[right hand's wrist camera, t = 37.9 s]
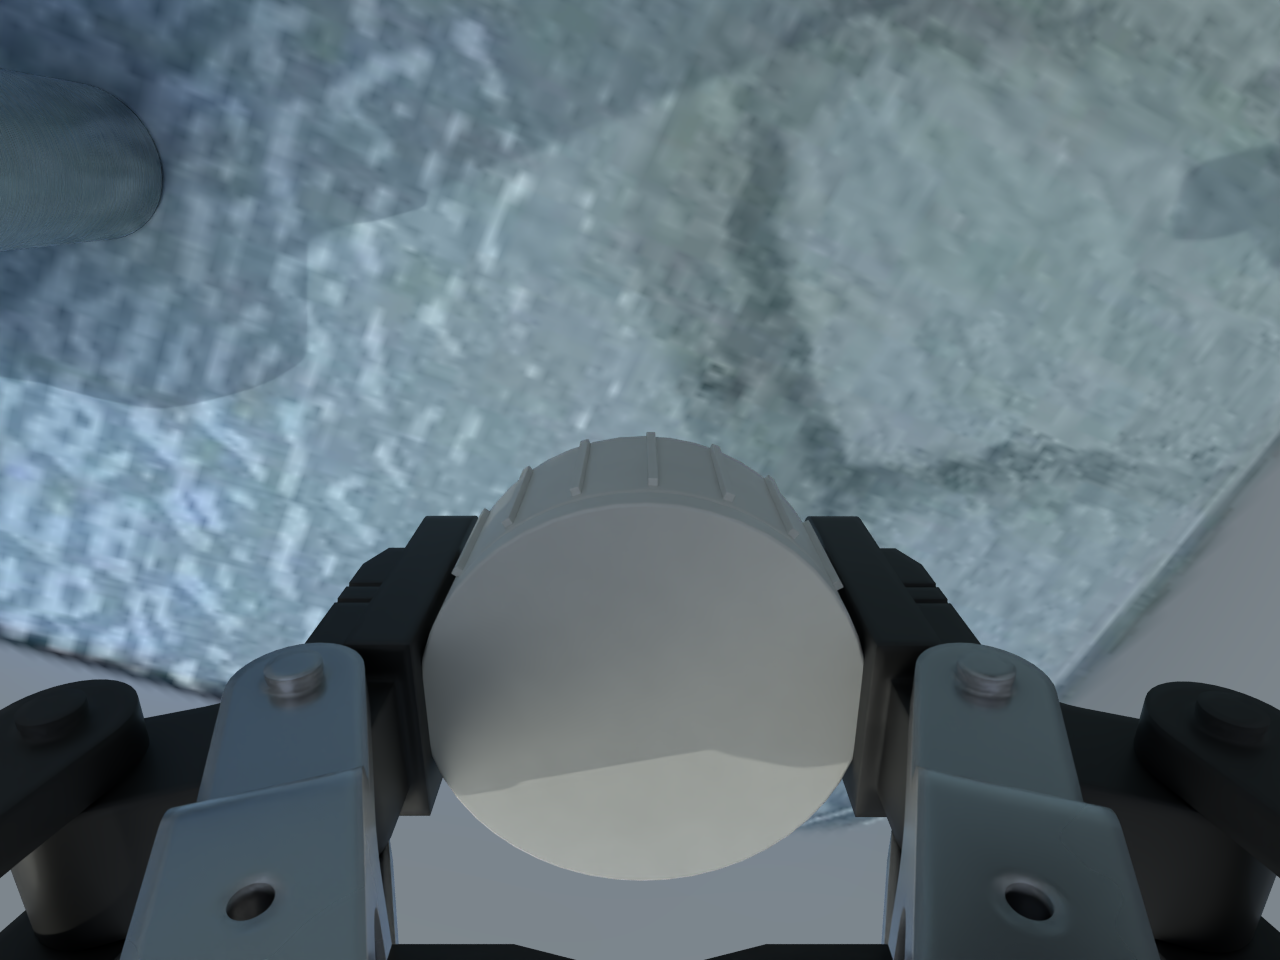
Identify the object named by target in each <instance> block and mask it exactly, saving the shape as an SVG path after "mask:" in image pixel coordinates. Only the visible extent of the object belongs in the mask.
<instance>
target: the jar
mask: <svg viewBox="0 0 1280 960" xmlns="http://www.w3.org/2000/svg"><path fill="white" fill-rule="evenodd" d="M161 190H162V168H161V163H160V158H159V155H158V152H157V149H156V147H155V144H154V142H153V140H152V138H151V136H150V134H149V133H148V131H147V129H146V128H145V126H144V125H143V124H142V122H141V121H140V120H139V119H138V117H137V116H136V115H135V114H134V113H133V112H132V111H131V110H130V109H129V108H128V107H127V106H126V105H125V104H123V103H122V102H121V101H119V100H118V99H117V98H115V97H114V96H112V95H111V94H109V93H107V92H105V91H103V90H101V89H99V88H96V87H94V86H91V85H87V84H83V83H78V82H72V81H67V80H61V79H56V78H50V77H45V76H39V75H33V74H28V73H22V72H17V71H11V70H6V69H0V251H8V250H18V249H27V248H36V247H45V246H54V245H63V244H72V243H81V242H91V241H100V240H109V239H116V238H121V237H124V236H127V235H129V234H131V233H133V232H135V231H137V230H138V229H139V228H141V227H142V226H143V225H144V224H145V223H146V222H147V221H148V220H149V219H150V217H151V216H152V215H153V213H154V211H155V209H156V207H157V205H158V202H159V199H160V196H161Z"/></svg>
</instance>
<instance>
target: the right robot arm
mask: <svg viewBox="0 0 1280 960" xmlns="http://www.w3.org/2000/svg"><path fill="white" fill-rule="evenodd" d="M477 520H478V517H477V516H426V517H425V518H424V519H423V521H422V522H421V524H420V526H419V527H418V529H417V530H416V532H415V533H414V535H413V536H412V538H411V539H410V541H409V542H408V544H407V546H406V547H405V548H388V549H386V550H385V551H383V552H382V553H380V554H378V555H377V556H375V557H374V558H372V559H370V560H369V561H367V562H365V563H364V564H363V565H362V566H361V567H360V569H359V570H358V572H357V573H356V574H355V576H354V577H353V578H352V580H351V581H350V582H349V587H346V588H345V589H344V591H343V592H342V593H341V595H340V596H339V597H338V602H337V603H334V604H333V606H332V607H331V608H330V610H329V611H328V612H327V614H326V615H325V617H324V618H323V619H322V621H321V622H320V623H319V625H318V626H317V627H316V629H315V630H314V632H313V633H312V634H311V636H310V637H309V638H308V640H307V641H306V642H305V644H299V645H295V646H290V647H286V648H282V649H279V650H276V651H273V652H271V653H268V654H265V655H263V656H261V657H259V658H257V659H255V660H253V661H252V662H250V663H248V664H247V665H245V666H244V667H242V668H241V669H240V670H239V671H237V672H236V673H235V674H234V675H233V676H232V677H231V678H230V680H229V681H228V683H227V684H226V686H225V689H224V691H223V695H222V699H221V703H219V704H215V705H210V706H206V707H201V708H196V709H190V710H185V711H180V712H175V713H170V714H165V715H159V716H154V717H149V718H144V717H143V713H142V709H141V706H140V702H139V698H138V695H137V693H136V691H135V690H134V689H133V688H132V687H131V686H130V685H128V684H126V683H123V682H119V681H115V680H86V681H78V682H73V683H68V684H64V685H60V686H56V687H52V688H49V689H46V690H43V691H40V692H37V693H35V694H32V695H30V696H27V697H25V698H23V699H21V700H19V701H16V702H14V703H12V704H10V705H9V706H7V707H5V708H3V709H2V710H0V878H1V877H2V876H3V875H4V874H6V873H7V872H8V871H9V870H11V872H12V874H13V877H14V880H15V882H16V885H17V888H18V891H19V893H20V896H21V899H22V901H23V904H24V907H25V909H26V910H25V911H24V912H23V913H22V914H21V915H20V916H18V917H17V918H16V919H15V920H14V921H13V922H12V923H10V924H9V925H8V926H7V927H6V928H5V929H4V930H2V931H1V932H0V960H574V959H570V958H566V957H562V956H558V955H554V954H550V953H546V952H542V951H539V950H534V949H531V948H527V947H523V946H519V945H515V944H398V930H397V915H396V900H395V886H394V871H393V859H392V852H391V845H390V838H391V836H392V833H393V830H394V828H395V825H396V822H397V820H398V817H399V816H430V814H431V811H432V808H433V805H434V802H435V799H436V796H437V793H438V790H439V787H440V784H441V781H442V778H443V776H442V774H441V772H440V770H439V768H438V766H437V764H436V762H435V760H434V759H433V757H432V752H431V745H430V737H429V728H428V719H427V710H426V701H425V693H424V684H423V673H422V657H423V653H424V650H425V647H426V643H427V640H428V637H429V633H430V631H431V629H432V626H433V624H434V621H435V619H436V617H437V615H438V613H439V611H440V609H441V607H442V605H443V603H444V601H445V598H446V596H447V594H448V592H449V590H450V588H451V586H452V584H453V582H454V580H455V578H456V576H455V575H453V574H452V571H453V569H454V567H455V565H456V563H457V561H458V559H459V557H460V555H461V553H462V551H463V549H464V547H465V545H466V542H467V540H468V538H469V536H470V534H471V532H472V530H473V528H474V526H475V524H476V522H477ZM807 520H809V522H810V524H811V526H812V527H813V529H814V531H815V533H816V535H817V537H818V539H819V541H820V543H821V545H822V547H823V549H824V550H825V552H826V554H827V556H828V558H829V560H830V562H831V564H832V566H833V568H834V570H835V572H836V573H837V575H838V577H839V579H840V581H841V583H842V585H843V588H841V589H839V590H837V591H838V593H839V595H840V598H841V600H842V601H843V603H844V605H845V607H846V609H847V611H848V613H849V616H850V618H851V620H852V622H853V625H854V627H855V629H856V632H857V634H858V636H859V640H860V643H861V647H862V651H863V655H864V664H863V675H862V683H861V692H860V701H859V709H858V718H857V727H856V735H855V744H854V752H853V758H852V761H851V763H850V765H849V767H848V768H847V770H846V772H845V774H844V776H843V778H842V779H843V782H844V785H845V788H846V791H847V793H848V796H849V799H850V802H851V805H852V808H853V811H854V814H855V817H887V819H888V821H889V824H890V826H891V829H892V831H891V838H890V845H889V852H888V859H887V871H886V886H885V900H884V915H883V930H882V944H765V945H761V946H757V947H754V948H749V949H746V950H742V951H738V952H734V953H730V954H726V955H722V956H718V957H714V958H710V959H706V960H1280V932H1279V931H1278V930H1276V929H1275V928H1274V927H1273V926H1272V925H1271V924H1270V923H1268V922H1267V921H1266V920H1265V919H1264V918H1263V917H1262V916H1261V915H1262V912H1263V909H1264V907H1265V904H1266V901H1267V899H1268V896H1269V893H1270V891H1271V888H1272V885H1273V883H1274V880H1275V878H1276V875H1277V876H1278V877H1279V878H1280V710H1278V709H1276V708H1275V707H1273V706H1271V705H1269V704H1267V703H1265V702H1263V701H1260V700H1258V699H1256V698H1253V697H1251V696H1248V695H1246V694H1243V693H1240V692H1237V691H1234V690H1231V689H1227V688H1223V687H1219V686H1215V685H1210V684H1204V683H1197V682H1169V683H1164V684H1160V685H1158V686H1156V687H1154V688H1152V689H1151V690H1150V691H1149V692H1148V693H1147V695H1146V698H1145V701H1144V705H1143V708H1142V712H1141V716H1140V719H1137V718H1132V717H1126V716H1121V715H1116V714H1111V713H1106V712H1100V711H1095V710H1090V709H1085V708H1080V707H1076V706H1071V705H1067V704H1064V703H1061V702H1059V699H1058V695H1057V691H1056V689H1055V686H1054V684H1053V683H1052V681H1051V680H1050V678H1049V677H1048V676H1047V675H1046V674H1045V673H1044V672H1043V671H1041V670H1040V669H1039V668H1038V667H1036V666H1035V665H1033V664H1032V663H1030V662H1028V661H1027V660H1025V659H1023V658H1021V657H1019V656H1017V655H1015V654H1012V653H1009V652H1007V651H1004V650H1001V649H998V648H994V647H990V646H985V645H981V644H980V642H979V641H978V640H977V638H976V637H975V636H974V634H973V633H972V632H971V630H970V629H969V628H968V626H967V625H966V624H965V622H964V621H963V620H962V618H961V617H960V615H959V614H958V613H957V611H956V610H955V609H954V607H953V606H952V605H951V603H948V602H947V598H946V597H945V595H944V594H943V593H942V591H941V590H940V589H939V587H936V583H935V582H934V581H933V579H932V578H931V576H930V575H929V574H928V572H927V571H926V570H925V568H924V567H923V566H922V565H921V564H920V563H918V562H917V561H915V560H913V559H912V558H910V557H908V556H907V555H905V554H904V553H902V552H900V551H899V550H897V549H895V548H879V547H878V545H877V543H876V542H875V540H874V539H873V537H872V536H871V534H870V533H869V531H868V530H867V528H866V527H865V525H864V524H863V522H862V521H861V519H860V518H859V517H857V516H808V517H807V518H806V520H805V521H807Z"/></svg>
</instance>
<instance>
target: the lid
mask: <svg viewBox="0 0 1280 960" xmlns="http://www.w3.org/2000/svg"><path fill="white" fill-rule="evenodd" d="M452 574H453V575H455V576H456V578H455V580H454V582H453V584H452V586H451V588H450V590H449V592H448V594H447V596H446V598H445V601H444V603H443V605H442V607H441V609H440V611H439V613H438V615H437V617H436V619H435V621H434V624H433V626H432V629H431V631H430V633H429V637H428V640H427V643H426V647H425V650H424V653H423V657H422V673H423V684H424V693H425V701H426V710H427V719H428V728H429V737H430V745H431V752H432V757H433V759H434V760H435V762H436V764H437V766H438V768H439V770H440V772H441V774H442V776H443V778H444V779H445V781H446V782H447V784H448V785H449V787H450V788H451V789H452V791H453V792H454V794H455V795H456V797H457V798H458V799H459V800H460V801H461V802H462V803H463V805H464V806H465V807H466V808H467V809H468V810H469V811H470V812H471V813H472V814H473V815H474V817H476V818H477V819H478V820H479V821H480V822H482V823H483V824H484V825H485V826H486V827H487V828H489V829H490V830H491V831H492V832H493V833H495V834H496V835H498V836H499V837H501V838H502V839H504V840H505V841H507V842H508V843H510V844H511V845H513V846H514V847H516V848H518V849H520V850H522V851H524V852H526V853H528V854H530V855H532V856H533V857H535V858H538V859H540V860H543V861H545V862H548V863H550V864H553V865H555V866H558V867H561V868H564V869H568V870H571V871H575V872H579V873H582V874H586V875H591V876H598V877H604V878H610V879H621V880H638V881H644V880H667V879H674V878H681V877H688V876H694V875H698V874H702V873H706V872H711V871H715V870H719V869H721V868H724V867H727V866H730V865H732V864H735V863H738V862H741V861H743V860H746V859H748V858H750V857H752V856H754V855H756V854H758V853H760V852H762V851H764V850H766V849H768V848H769V847H771V846H773V845H774V844H776V843H777V842H779V841H780V840H782V839H784V838H785V837H787V836H788V835H790V834H791V833H792V832H793V831H795V830H796V829H797V828H798V827H799V826H801V825H802V824H803V823H804V822H806V821H807V820H808V819H809V818H810V817H811V816H812V815H813V814H814V813H815V812H816V811H817V810H818V809H819V808H820V807H821V806H822V805H823V804H824V802H825V801H826V800H827V799H828V797H829V796H830V795H831V793H832V792H833V791H834V789H835V788H836V787H837V785H838V784H839V783H840V781H841V779H842V778H843V776H844V774H845V772H846V770H847V768H848V767H849V765H850V763H851V761H852V758H853V752H854V744H855V735H856V727H857V718H858V709H859V701H860V692H861V683H862V675H863V664H864V655H863V651H862V647H861V643H860V640H859V636H858V634H857V632H856V629H855V627H854V625H853V622H852V620H851V618H850V616H849V613H848V611H847V609H846V607H845V605H844V603H843V601H842V600H841V598H840V595H839V593H838V591H837V590H839V589H841V588H843V585H842V583H841V581H840V579H839V577H838V575H837V573H836V572H835V570H834V568H833V566H832V564H831V562H830V560H829V558H828V556H827V554H826V552H825V550H824V549H823V547H822V545H821V543H820V541H819V539H818V537H817V535H816V533H815V531H814V529H813V527H812V526H811V524H810V522H809V520H807V521H805V522H803V523H802V521H801V519H800V518H799V516H798V515H797V513H796V512H795V510H794V508H793V507H792V506H791V505H790V504H789V503H788V501H787V500H786V499H785V498H784V497H783V495H782V494H781V493H780V491H779V489H778V487H777V485H776V483H775V480H774V479H773V478H772V477H771V476H769V475H768V476H767V477H766V478H763V477H762V476H761V475H760V474H758V473H757V472H755V471H754V470H752V469H751V468H749V467H748V466H746V465H745V464H743V463H742V462H740V461H738V460H736V459H734V458H732V457H730V456H728V455H726V454H724V453H722V452H721V449H720V447H719V446H717V445H714V444H712V445H711V447H710V448H708V447H705V446H702V445H699V444H696V443H692V442H687V441H682V440H677V439H672V438H662V437H655V432H647V433H646V436H640V437H620V438H614V439H609V440H603V441H597V442H593V443H590V442H589V439H587V440H583V441H581V442H580V446H579V447H577V448H574V449H571V450H568V451H566V452H564V453H562V454H560V455H558V456H555V457H553V458H551V459H549V460H547V461H546V462H544V463H542V464H541V465H539V466H538V467H536V468H534V469H533V470H532V468H531V467H530V466H528V467H526V468H525V469H524V470H523V471H522V474H521V476H520V478H519V480H518V481H517V482H516V483H515V484H514V485H513V486H511V487H510V488H509V489H508V490H507V491H506V492H505V494H504V495H503V496H502V497H501V498H500V499H499V500H498V501H497V502H496V504H495V505H494V506H493V507H492V509H491V510H490V511H488V510H487V509H484V510H483V511H482V512H481V514H480V516H479V518H478V520H477V522H476V524H475V526H474V528H473V530H472V532H471V534H470V536H469V538H468V540H467V542H466V545H465V547H464V549H463V551H462V553H461V555H460V557H459V559H458V561H457V563H456V565H455V567H454V569H453V571H452Z"/></svg>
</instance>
